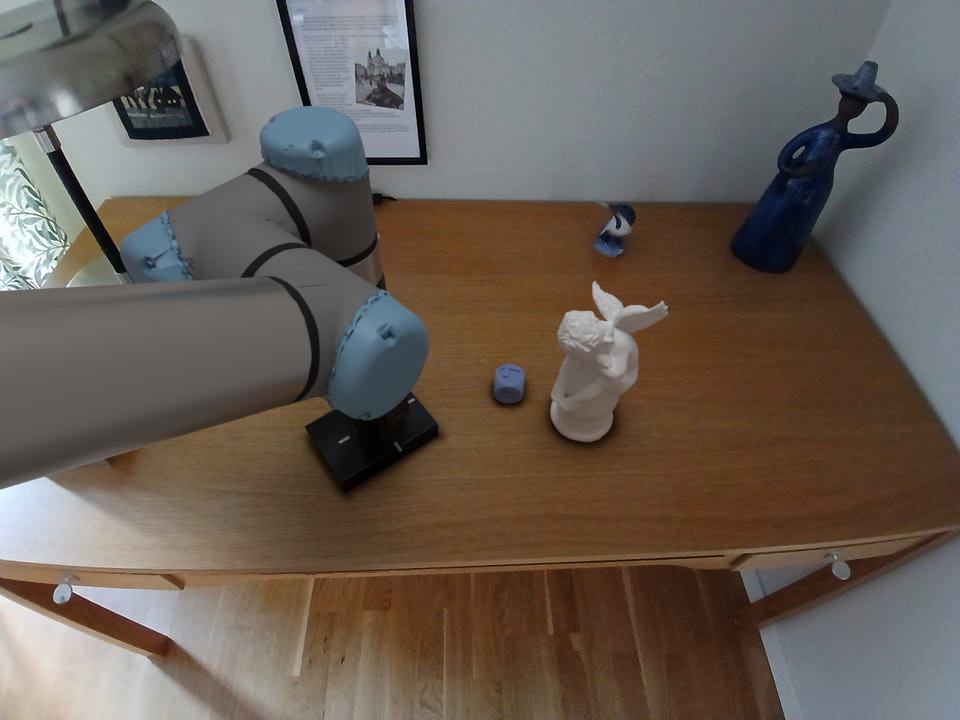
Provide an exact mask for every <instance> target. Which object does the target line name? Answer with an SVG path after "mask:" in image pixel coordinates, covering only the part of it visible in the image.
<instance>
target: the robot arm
mask: <svg viewBox="0 0 960 720" xmlns="http://www.w3.org/2000/svg"><path fill="white" fill-rule="evenodd" d="M259 143H260V155H261V158H262V159H263V161H262V162H261V163H259V164H256V165H255V166H253V167H250V168H249V169H248V170H247V171H246V172H245V173H243V174H239V175H238V176H236V177H234V178H231V179H229V180H228V181H225V182H224V183H222V184H220V185H218V186H215V187H213V188H211V189H209V190H207V191H205V192H203V193H201V194H199V195H197V196H194V197H193V198H190V199H188V200H186V201H184V202H182V203H181V204H177V205H176V206H174V207H172V208H170V209H168V210H167V209H165V210H163V211H161V212H160V214H159V216H156V217H154V218H153V219H151V220H150V221H148V222H147V223H144V224H143V225H141V226H139V227H138V228H136V229H134V230H132V231H131V232H129V233H127V234H126V235H125V236H124V237H123V238H122V240H121V241H120V244H119V256H120V259H121V262H122V264H123V266H124V268H125V269H126V272H127V273H128V275H129V276H130V278H131V280H132V281H133V283H122V284H121V283H120V284H103V285H101V284H100V285H83V286H82V285H81V286H65V287H63V286H61V287H50V288H49V287H47V288H43V287H42V288H29V289H27V288H26V289H8V290H6V289H5V290H0V491H1V490H4V489H8V488H12V487H14V486H18V485H21V484H25V483H28V482H31V481H34V480H38V479H42V478H45V477H48V476H52V475H55V474H58V473H61V472H65V471H68V470H71V469H76V468H78V467H82V466H85V465H89V464H92V463H95V462H99V461H102V460H106V459H109V458H113V457H115V456H119V455H122V454H125V453H129V452H133V451H136V450H139V449H142V448H146V447H149V446H152V445H156V444H159V443H163V442H166V441H170V440H172V439H176V438H180V437H183V436H186V435H190V434H193V433H196V432H200V431H203V430H206V429H207V430H208V429H210V428H214V427H216V426H220V425H223V424H227V423H230V422H233V421H237V420H240V419H244V418H247V417H250V416H253V415H258V414H261V413H264V412H267V411H270V410H274V409H277V408H283V407H285V406H289V405H293V404H297V403H301V402H304V401H308V400H312V399H314V398H322V399H324V400H325V401H326V402H327V404H328V406H329V407H330V408H331V409H332V410H335V409H338V410H340V411H341V412H343V413H345V414H346V415H348V416H350V417H352V418H355V419H362V420H371V419H375V418H377V419H378V422H379V426H380V431H381V435H382V439H383V440H384V441H385V442H387V441H389V440H390V439H392V438H393V437H395V436H397V435H398V434H400V433H402V432H403V431H404V427H403V422H402V418H403V417H405V416H406V415H408V414H410V413H411V410H410V406H409V402H408V398H407V395H408V394H409V392H410V391H411V392H412V390H413V388H414V387H415V385H416V383H417V382H418V381H419V378H420V377H421V375H422V373H423V370H424V367H425V363H426V361H427V359H428V355H429V350H430V337H429V333H428V329H427V325H425V323H424V321H423V319H421V318H420V317H419V316H418V315H417V314H415V313H414V312H413V311H412V310H410V309H409V308H407V307H405V306H404V305H403V304H402V303H400V302H399V301H398V300H396V299H395V298H394V297H393V296H392V294H391V293H390V292H389V291H388V290H387V283H386V277H385V274H384V270H383V268H384V267H383V262H382V255H381V249H380V244H379V243H381V241H382V236H381V235H380V233H378V230H377V221H376V215H375V208H374V207H375V206H374V201H373V193H372V186H371V179H370V166H369V164H368V162H367V157H366V152H365V147H364V144H363V143H364V142H363V140H362V136H361V133H360V130H359V128H358V125H357V124H356V123H355V121H354V120H353V119H352V118H351V117H350V116H348V114H345V113H344V112H340V111H338V110H336V109H335V108H331V107H325V106H318V105H304V106H298V107H293V108H288V109H286V110H283V111H280V112H279V113H276V114H275V115H273V116H271V117H270V118H269V120H268V123H265V124H263V126H262V128H261V129H260V131H259Z"/></svg>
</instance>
